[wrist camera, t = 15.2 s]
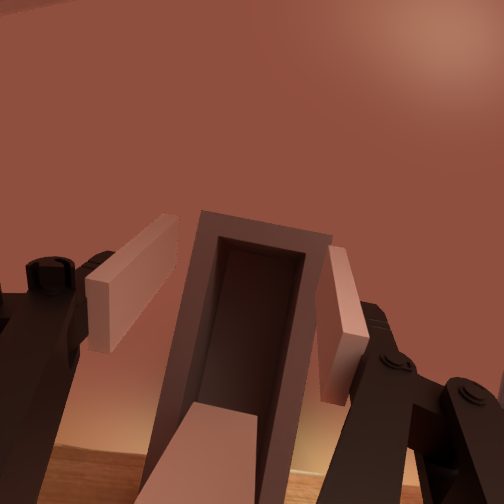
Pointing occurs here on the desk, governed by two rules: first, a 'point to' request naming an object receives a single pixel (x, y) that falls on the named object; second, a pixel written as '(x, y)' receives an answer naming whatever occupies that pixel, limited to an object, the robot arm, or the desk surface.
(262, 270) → the tall stand
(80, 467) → the desk surface
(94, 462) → the desk surface
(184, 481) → the pale pink long block
